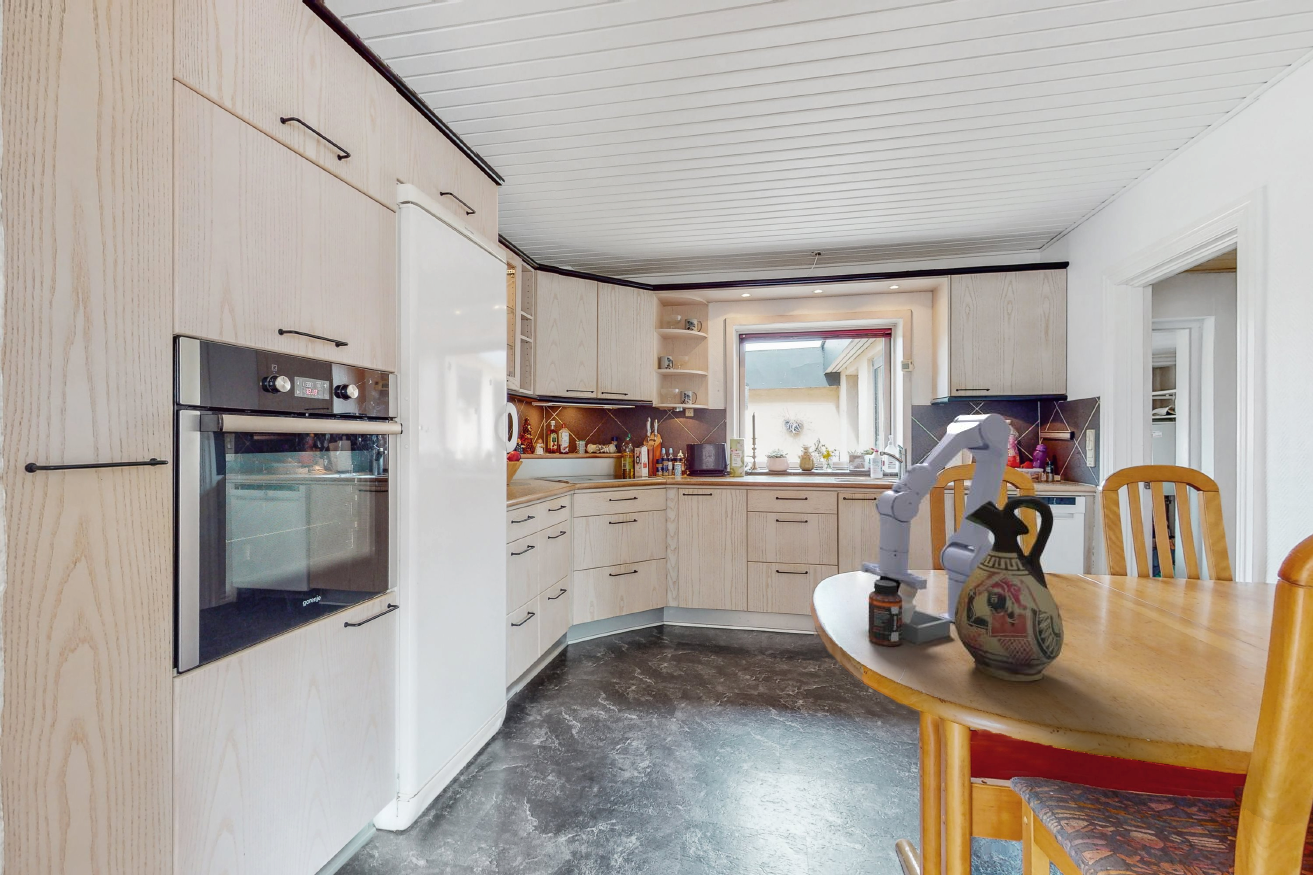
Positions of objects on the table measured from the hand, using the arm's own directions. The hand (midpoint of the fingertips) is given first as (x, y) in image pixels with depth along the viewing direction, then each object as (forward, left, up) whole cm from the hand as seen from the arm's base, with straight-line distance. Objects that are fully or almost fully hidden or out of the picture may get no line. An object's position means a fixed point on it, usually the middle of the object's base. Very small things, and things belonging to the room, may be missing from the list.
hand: (890, 614), depth 114 cm
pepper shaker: (+1, +1, -2) cm, 2 cm away
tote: (-1, +4, -2) cm, 5 cm away
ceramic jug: (+1, +25, -3) cm, 25 cm away
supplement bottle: (+8, +5, -3) cm, 10 cm away
